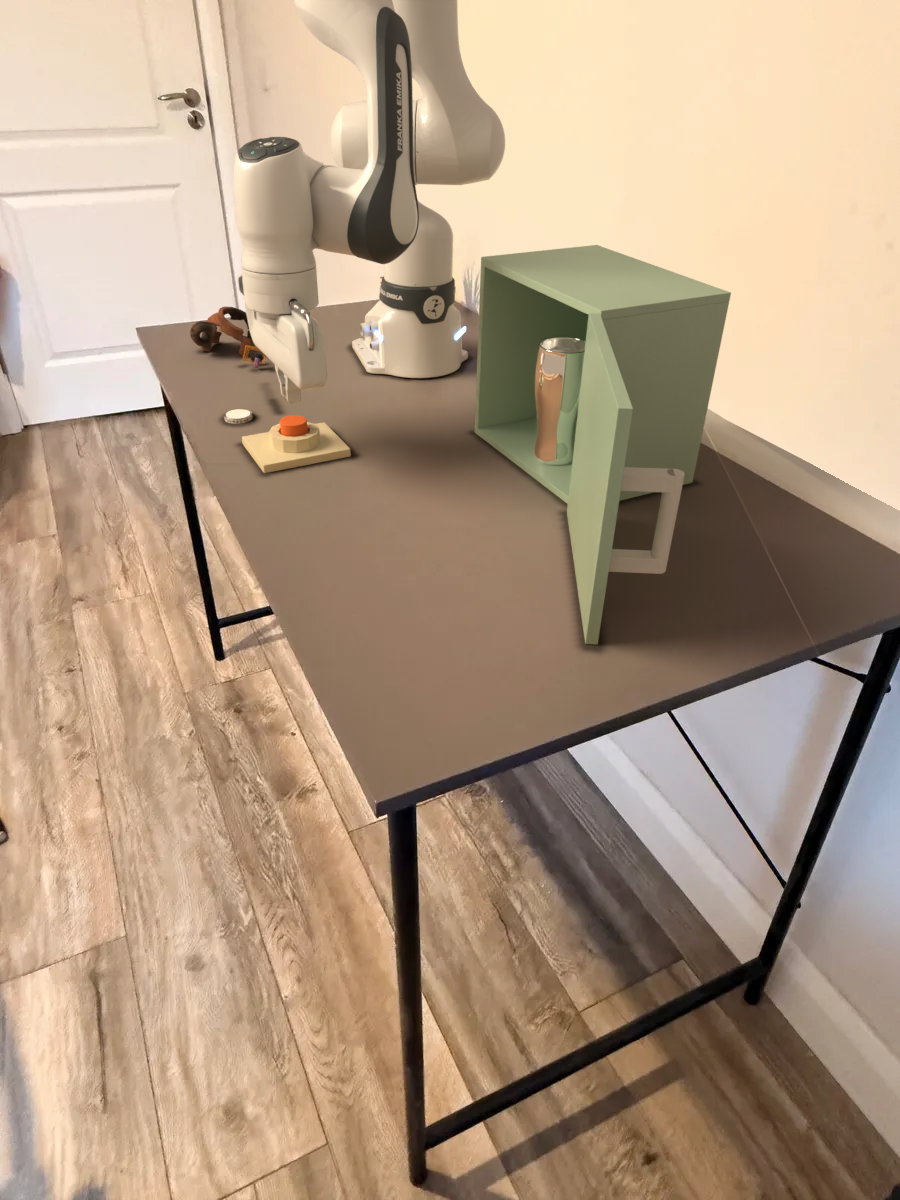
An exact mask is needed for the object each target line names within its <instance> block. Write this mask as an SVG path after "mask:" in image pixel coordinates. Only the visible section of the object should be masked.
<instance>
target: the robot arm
mask: <svg viewBox="0 0 900 1200" xmlns="http://www.w3.org/2000/svg"><path fill="white" fill-rule="evenodd" d="M293 5H294V7H295V9H296V12H297V14H298V16H299V17H300V19H301V21H302V23H303V25H304V26H305V27H306V29H307V30H308V31H309V32H310V33H311V35H312V36H313V37H314V38H315V39H316V40H318V41H319V42H320V43H322V44H323V45H324V46H326V47H327V48H329V49H330V50H332V51H334V52H336V53H337V54H339V55H340V56H342V57H344V58H345V59H347V60H349V61H350V62H351V63H352V64H353V65H354V66H355V67H356V68H357V70H358V71H359V73H360V75H361V77H362V79H363V82H364V86H365V90H366V91H365V92H366V100H362V101H361V100H360V101H357V102H356V101H355V102H353V103H348V104H344V105H343V106H342V107H341V108H340V109H339V110H338V112H337V113H336V115H335V117H334V119H333V122H332V124H331V129H330V138H329V139H330V140H329V141H330V151H331V154H332V157H333V160H334V162H335V164H336V165H331V164H324V163H323V162H321V161H318V160H316V159H315V158H313V157H311V156H310V155H308V154H307V153H306V152H305V151H304V149H303V146H302V144H301V143H300V141H298V140H297V139H294V138H291V137H287V136H269V137H264V138H257V139H254V140H251V141H248V142H246V143H245V144H242V146H241V147H240V148H239V149H238V150H237V151H236V154H235V158H234V165H233V199H234V200H233V201H234V203H233V204H234V213H235V220H236V222H235V223H236V228H237V231H238V234H239V236H240V239H241V243H242V256H241V260H240V262H241V264H240V265H241V273H239V274H237V287H238V291H239V292H240V293H241V295H243V300H244V302H243V303H244V308H245V312H246V314H247V320H248V325H249V329H248V330H250V334H251V337H252V340H253V342H254V344H255V346H254V347H257V348H259V349H260V350H259V351H260V352H261V351H262V352H263V355H264V356H265V355H266V358H268V359H269V360H270V362H271V363H273V364H274V370H275V373H276V376H277V379H278V382H279V388H280V395H281V396H282V397H283V398H284V399H285V400H286V401H287V402H288V403H289V404H297V403H300V402H301V401H302V392H301V390H309V389H315V388H321V387H322V388H323V387H324V386H326V384H327V382H328V367H327V357H326V349H325V341H324V335H323V331H322V328H321V325H320V324H319V322H318V321H317V320H316V319H315V318H313V317H312V316H311V311H312V310H313V309H315V308H317V307H318V306H319V304H320V303H319V302H320V301H319V288H318V287H319V286H318V272H317V262H316V257H315V254H314V250H315V249H317V250H322V251H325V252H329V253H333V254H334V253H335V254H340V255H346V256H347V255H348V256H354V257H356V258H359V259H362V260H365V261H368V262H372V263H373V262H374V263H376V264H380V265H383V276H380V277H379V279H381V281H380V283H379V284H380V285H379V294H378V299H379V300H378V301H377V303H376V304H374V305H373V307H372V308H371V309H369V311H368V312H366V314H365V316H364V322H361V323H360V324H359V333H360V337H359V338H356V339H354V340H352V342H351V347H352V349H353V351H354V353H355V354H356V356H357V358H358V360H359V361H360V363H361V365H362V367H363V368H364V370H365V371H366V373H369V374H376V375H389V376H393V377H398V378H409V379H430V378H438V377H444V376H446V375H450V374H452V373H454V372H456V371H457V370H459V369H460V367H461V366H462V363H463V362H465V361H467V360H468V358H469V352H468V351H467V350H465V349H463V340H462V339H463V337H462V336H463V335H464V333H466V331H467V326H463V327H462V318H461V317H462V315H461V311H460V310H459V309H458V308H457V307H456V306H455V305H454V303H455V302H456V293H457V292H456V291H457V290H456V279H455V278H454V276H453V267H454V266H453V263H454V261H453V260H454V232H453V229H452V225H451V224H450V223H449V221H448V220H447V219H446V218H445V217H443V215H441V214H440V213H438V212H437V211H435V210H433V209H432V208H430V207H428V206H426V205H424V204H423V203H422V202H420V201H419V200H418V194H417V188H416V186H418V185H435V186H436V185H437V186H462V185H470V184H475V183H480V182H484V181H488V180H491V178H493V176H494V175H495V174H496V173H497V171H498V170H499V168H500V166H501V165H502V162H503V159H504V156H505V150H506V134H505V130H504V126H503V123H502V120H501V118H500V117H499V115H498V114H497V113H496V111H495V110H494V109H493V108H492V107H491V106H490V105H489V104H488V103H487V102H486V101H485V100H484V99H483V98H482V97H481V96H480V95H479V93H478V92H477V91H476V88H475V87H474V86H473V84H472V83H471V80H470V78H469V77H468V74H467V71H466V69H465V65H464V63H463V58H462V55H461V49H460V38H459V18H458V17H459V16H458V0H293ZM413 80H414V81H415V82H416V83H417V84H418V86H419V88H420V90H421V93H422V98H420V99H413V96H414V95H413Z"/></svg>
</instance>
